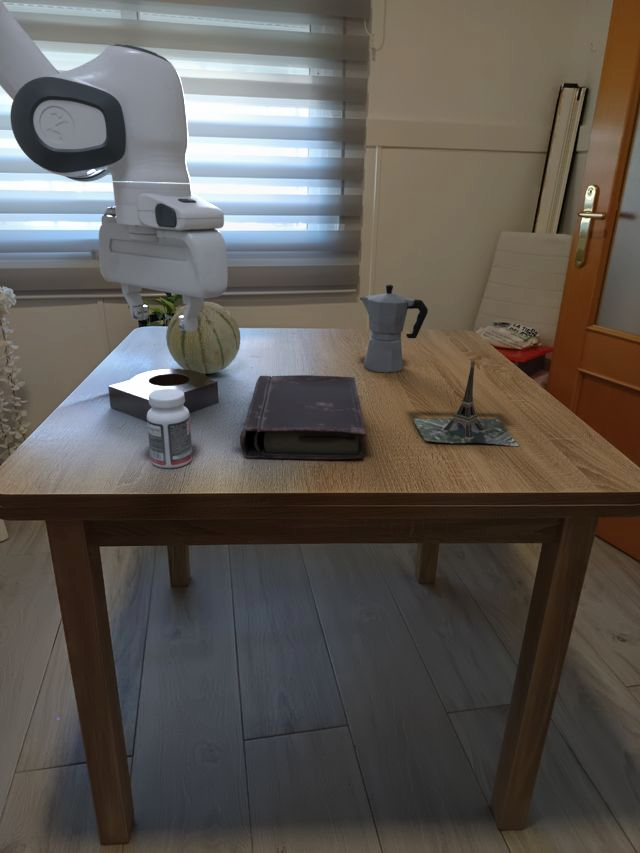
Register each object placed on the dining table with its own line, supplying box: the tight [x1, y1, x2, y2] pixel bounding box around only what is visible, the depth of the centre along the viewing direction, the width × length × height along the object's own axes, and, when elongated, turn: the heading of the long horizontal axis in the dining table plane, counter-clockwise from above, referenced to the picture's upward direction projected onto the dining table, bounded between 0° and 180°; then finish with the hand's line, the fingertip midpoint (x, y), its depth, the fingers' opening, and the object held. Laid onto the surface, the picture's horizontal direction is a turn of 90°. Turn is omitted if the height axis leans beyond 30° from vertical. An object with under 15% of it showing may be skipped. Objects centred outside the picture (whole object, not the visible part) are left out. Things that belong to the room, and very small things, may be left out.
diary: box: [239, 374, 367, 461], centre depth 93 cm, size 19×25×5 cm
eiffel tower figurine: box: [412, 357, 520, 447], centre depth 91 cm, size 15×10×13 cm
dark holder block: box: [107, 368, 219, 422], centre depth 101 cm, size 16×14×4 cm
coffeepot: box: [359, 284, 429, 374], centre depth 123 cm, size 15×9×18 cm, turn 61°
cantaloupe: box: [165, 301, 241, 375], centre depth 116 cm, size 15×15×15 cm
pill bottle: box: [146, 389, 193, 469], centre depth 79 cm, size 6×6×10 cm
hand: (163, 324), depth 73 cm, fingers open, 8 cm apart
